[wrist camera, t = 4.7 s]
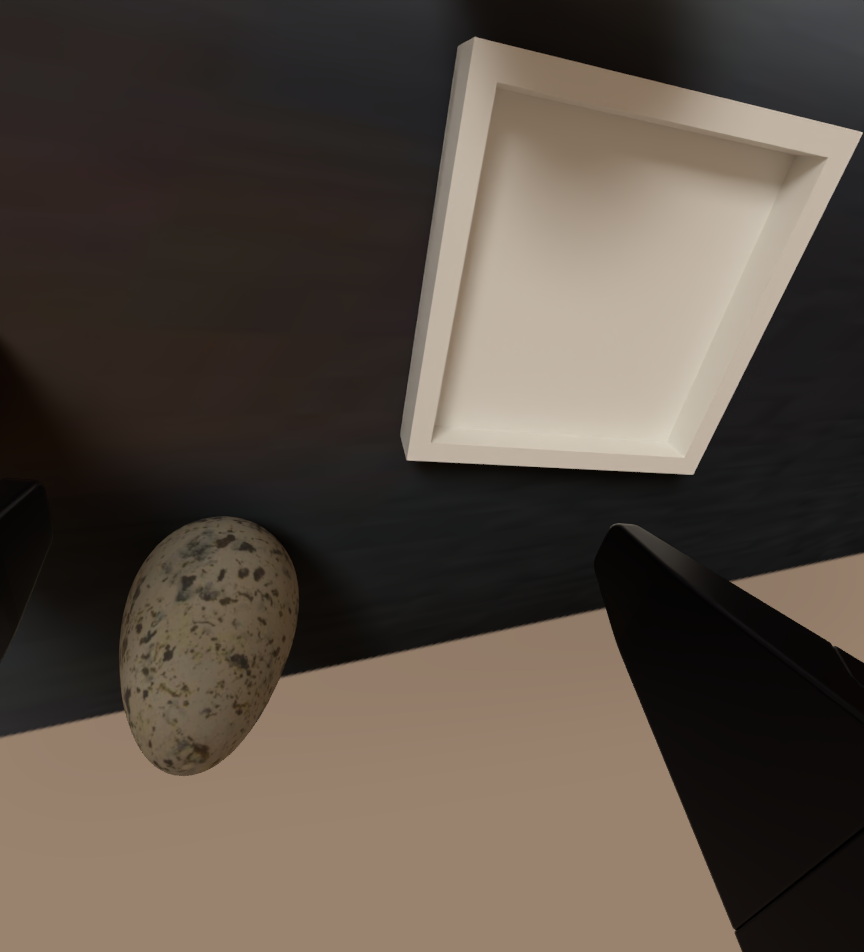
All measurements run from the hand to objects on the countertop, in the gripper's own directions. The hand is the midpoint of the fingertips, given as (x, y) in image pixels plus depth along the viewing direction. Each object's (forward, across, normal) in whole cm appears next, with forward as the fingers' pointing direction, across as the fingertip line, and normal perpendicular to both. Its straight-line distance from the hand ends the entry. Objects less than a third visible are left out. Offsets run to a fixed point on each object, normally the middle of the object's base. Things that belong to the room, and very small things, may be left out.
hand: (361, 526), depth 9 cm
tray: (+12, -9, -2) cm, 15 cm away
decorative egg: (+12, +4, +11) cm, 17 cm away
